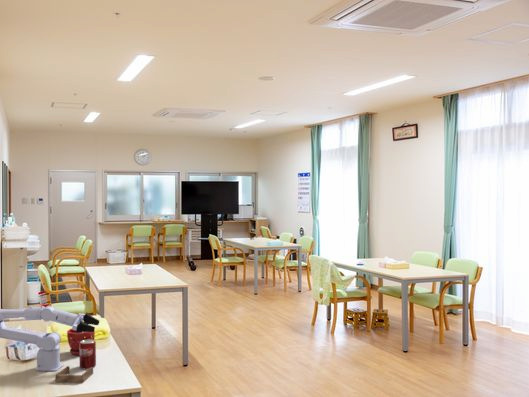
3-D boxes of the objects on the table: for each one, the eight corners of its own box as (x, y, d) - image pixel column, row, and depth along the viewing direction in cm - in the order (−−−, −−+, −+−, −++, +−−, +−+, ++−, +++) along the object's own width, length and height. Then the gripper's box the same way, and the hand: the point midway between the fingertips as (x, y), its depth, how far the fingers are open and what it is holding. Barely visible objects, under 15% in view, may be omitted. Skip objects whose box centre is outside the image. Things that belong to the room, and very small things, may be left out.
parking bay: (55, 382, 237) (55, 375, 236) (67, 372, 248) (67, 366, 248) (82, 382, 236) (82, 375, 235) (93, 373, 247) (93, 367, 247)
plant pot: (84, 347, 287) (83, 324, 287) (100, 351, 279) (100, 328, 279) (62, 353, 276) (61, 329, 276) (78, 358, 269) (77, 333, 268)
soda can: (91, 370, 252) (90, 344, 251) (76, 369, 253) (76, 343, 253) (98, 365, 259) (98, 339, 258) (84, 364, 260) (84, 338, 260)
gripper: (64, 316, 246) (94, 324, 247) (74, 304, 261) (102, 312, 262) (60, 331, 248) (90, 338, 249) (71, 318, 262) (99, 325, 263)
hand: (96, 326), depth 255 cm, fingers open, 7 cm apart
